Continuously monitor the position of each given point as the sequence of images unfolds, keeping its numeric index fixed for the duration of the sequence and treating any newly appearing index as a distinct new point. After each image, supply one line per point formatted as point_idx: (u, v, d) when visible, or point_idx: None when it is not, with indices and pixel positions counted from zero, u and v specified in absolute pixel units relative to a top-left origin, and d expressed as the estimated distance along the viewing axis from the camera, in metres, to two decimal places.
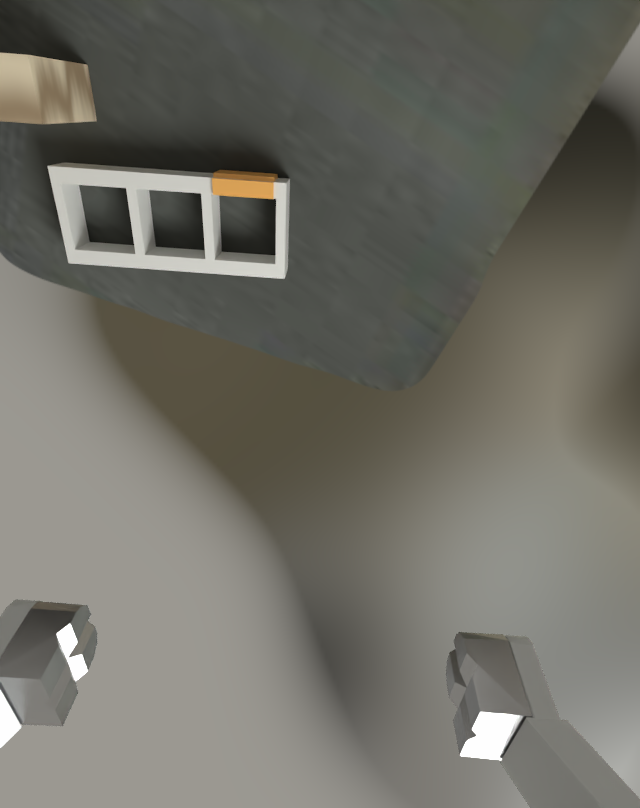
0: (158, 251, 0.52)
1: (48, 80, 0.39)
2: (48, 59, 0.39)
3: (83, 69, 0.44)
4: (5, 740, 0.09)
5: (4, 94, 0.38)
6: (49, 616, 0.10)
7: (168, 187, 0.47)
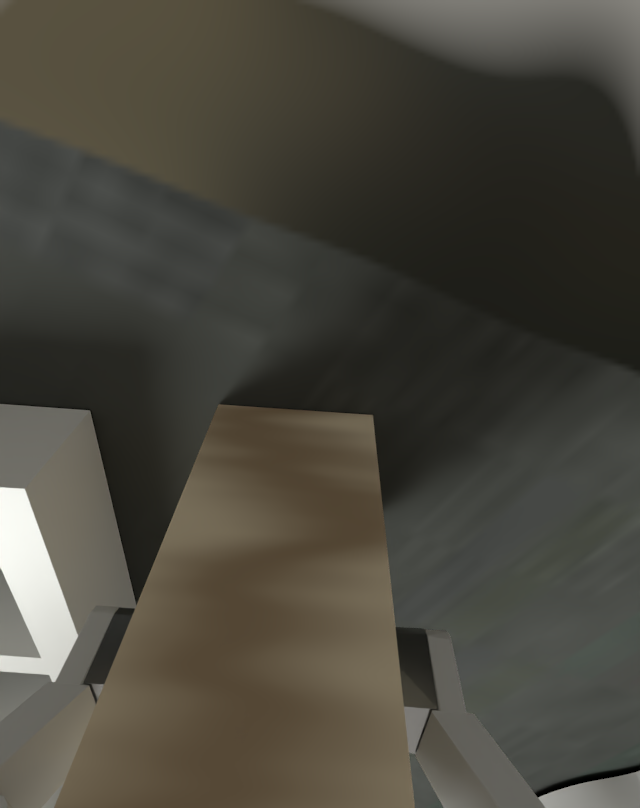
0: None
1: None
2: None
3: None
4: None
5: None
6: None
7: None
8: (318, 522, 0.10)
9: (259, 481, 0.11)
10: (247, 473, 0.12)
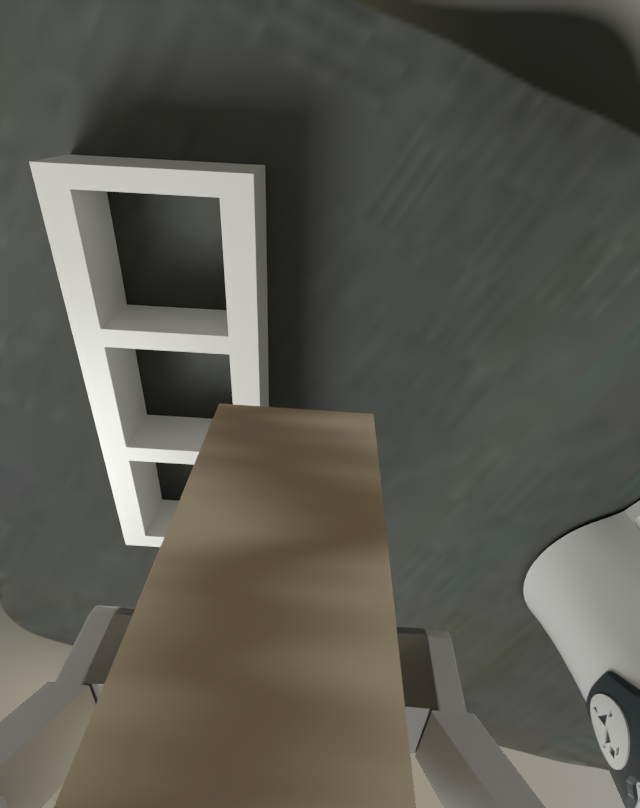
0: (120, 349, 0.26)
1: None
2: None
3: None
4: None
5: None
6: None
7: None
8: (319, 520, 0.10)
9: (260, 481, 0.11)
10: (247, 472, 0.12)
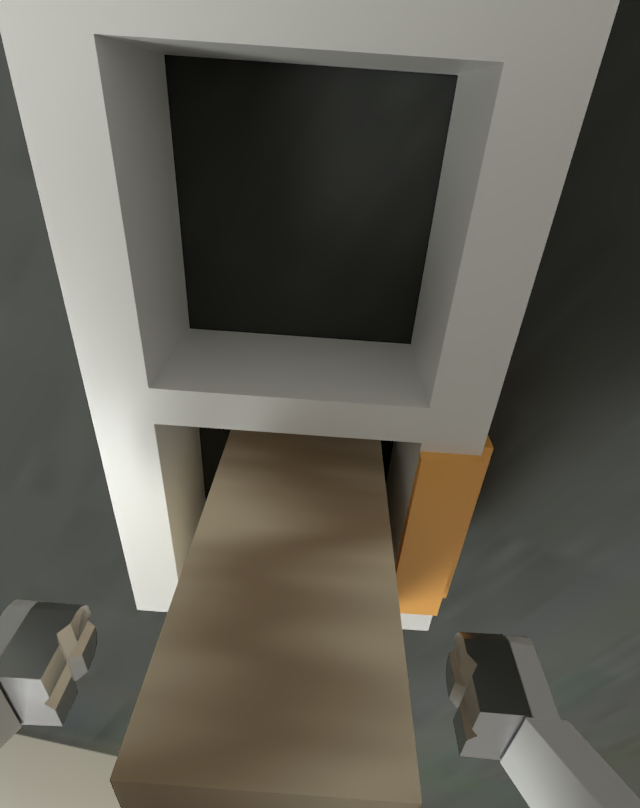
0: (139, 103, 0.09)
1: None
2: None
3: None
4: (5, 740, 0.09)
5: None
6: (49, 616, 0.10)
7: (476, 269, 0.09)
8: (331, 517, 0.12)
9: (277, 482, 0.13)
10: (265, 473, 0.13)
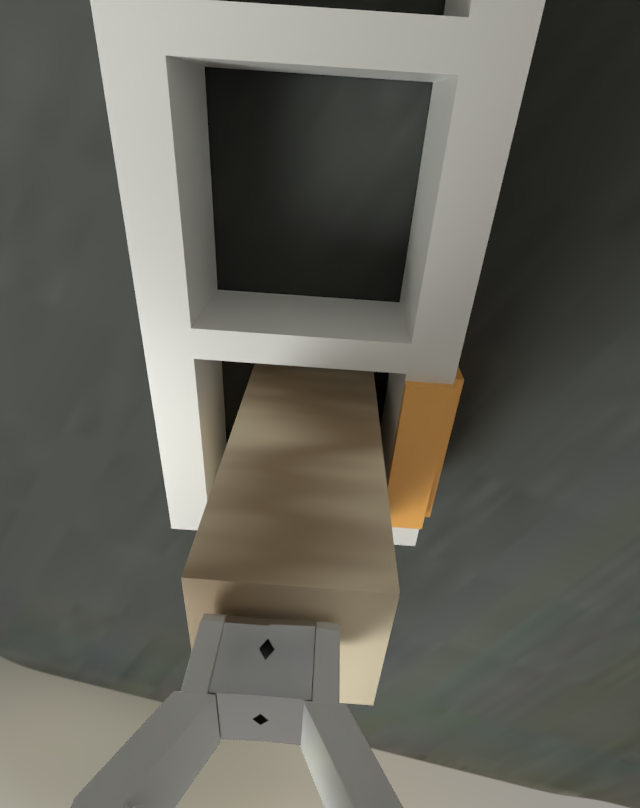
0: (189, 104, 0.12)
1: None
2: None
3: None
4: (209, 755, 0.09)
5: None
6: (245, 630, 0.10)
7: (444, 230, 0.12)
8: (334, 434, 0.15)
9: (291, 410, 0.16)
10: (281, 405, 0.16)
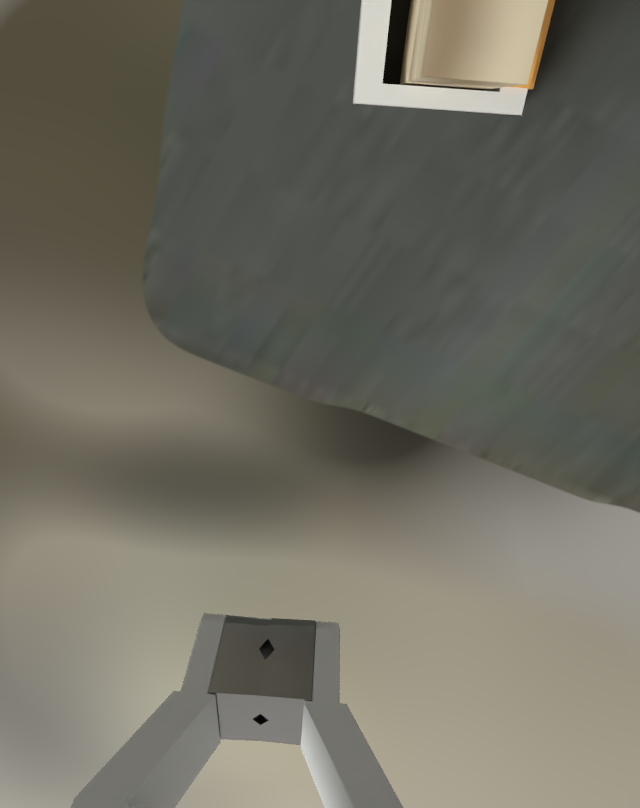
0: None
1: (479, 83, 0.23)
2: (506, 86, 0.23)
3: None
4: (209, 755, 0.09)
5: (480, 2, 0.19)
6: (245, 630, 0.10)
7: None
8: None
9: None
10: None
